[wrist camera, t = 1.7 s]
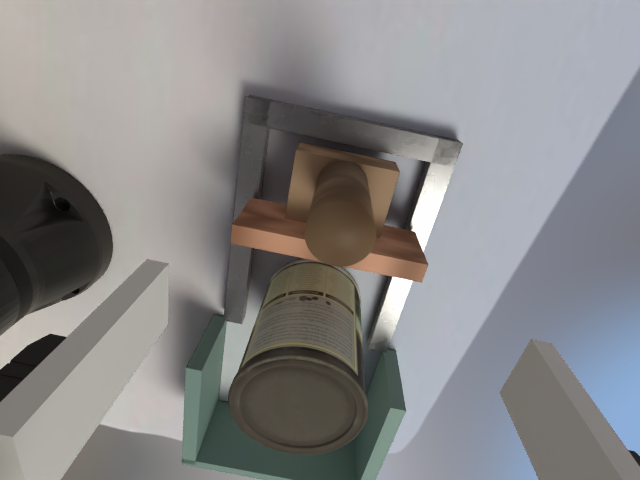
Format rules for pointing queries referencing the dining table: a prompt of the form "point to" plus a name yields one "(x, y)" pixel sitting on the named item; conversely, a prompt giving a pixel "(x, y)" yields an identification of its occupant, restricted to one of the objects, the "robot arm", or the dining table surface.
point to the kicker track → (350, 132)
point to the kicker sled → (335, 216)
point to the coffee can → (303, 363)
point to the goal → (271, 465)
